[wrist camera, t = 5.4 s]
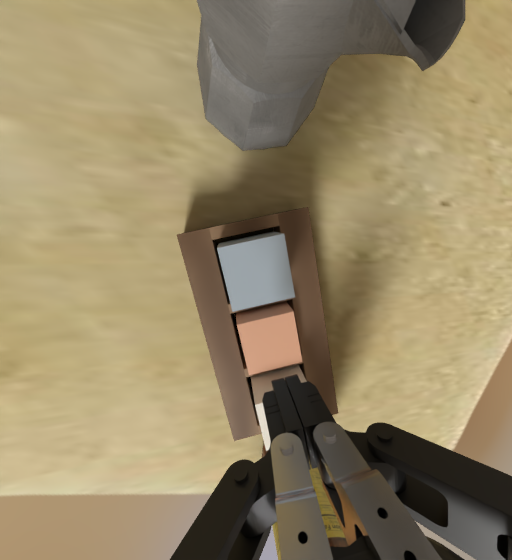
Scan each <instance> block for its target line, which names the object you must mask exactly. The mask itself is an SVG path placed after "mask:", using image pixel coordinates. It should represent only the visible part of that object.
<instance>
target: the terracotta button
mask: <svg viewBox="0 0 512 560" xmlns="http://www.w3.org/2000/svg"><path fill="white" fill-rule="evenodd" d="M236 321H237V328H238V332H239V336H240V340H241V344H242V348H243V353H244V357H245V361H246V365H247V369H248V373H249V375H252V374H256V373H260V372H264V371H268V370H272V369H276V368H280V367H284V366H288V365H292V364H296V363H300V362H302V356H301V350H300V345H299V339H298V333H297V328H296V322H295V317H294V311H293V310H292V309H291V307H290V306H289V305H288V303H287V302H286V301H283V302H278V303H274V304H270V305H265V306H261V307H257V308H253V309H248V310H244V311H240V312H236Z"/></svg>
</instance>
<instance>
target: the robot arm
mask: <svg viewBox="0 0 512 560" xmlns="http://www.w3.org/2000/svg"><path fill="white" fill-rule="evenodd" d="M284 378H285V380H284ZM284 378H280V379H276V380H272V381H271V383H272V387H273V391H269V392H265V393H264V396H263V399H262V402H263V407H264V412H265V416H266V421H267V426H268V431H269V436H270V441H271V442H270V448H269V450H268V452H267V453H266V455H265V456H264V457H263V458H261V459H260V460H259V461H257V462H255V463H253V462H252V461H250V460H239V461H237V462H235V463H233V464H232V465H231V466H230V467H229V468H228V470H227V471H226V473H225V474H224V476H223V478H222V479H221V481H220V482H219V484H218V485H217V487H216V488H215V490H214V492H213V493H212V495H211V496H210V498H209V499H208V501H207V503H206V504H205V506H204V507H203V509H202V510H201V512H200V513H199V515H198V516H197V518H196V520H195V521H194V523H193V524H192V526H191V527H190V529H189V531H188V532H187V534H186V535H185V537H184V538H183V540H182V541H181V543H180V544H179V546H178V548H177V549H176V551H175V552H174V554H173V555H172V557H171V559H170V560H259V558H260V556H261V553H262V551H263V548H264V546H265V543H266V541H267V538H268V536H269V533H270V530H271V526H272V525H273V524H274V523H275V522H277V525H278V534H279V543H280V552H281V560H464V559H463V558H461V557H460V556H458V555H457V554H455V553H454V552H453V551H451V550H450V549H448V548H446V547H445V546H444V545H442V544H440V543H439V542H437V541H435V540H433V539H431V538H429V537H426V536H425V535H424V533H423V532H422V531H421V529H420V528H419V526H418V525H417V524H416V522H418V523H420V524H421V525H423V526H424V527H426V528H427V529H429V530H431V531H432V532H434V533H435V534H437V535H438V536H440V537H442V538H443V539H445V540H446V541H448V542H450V543H451V544H453V545H454V546H456V547H457V548H459V549H460V550H462V551H464V552H465V553H467V554H468V555H470V556H472V557H473V558H475V559H476V560H512V476H510V475H508V474H505V473H503V472H501V471H498V470H496V469H494V468H491V467H489V466H486V465H484V464H482V463H479V462H477V461H474V460H472V459H470V458H468V457H465V456H463V455H461V454H458V453H456V452H453V451H451V450H449V449H446V448H444V447H442V446H439V445H437V444H435V443H432V442H430V441H427V440H425V439H423V438H420V437H418V436H416V435H413V434H411V433H409V432H406V431H404V430H401V429H399V428H397V427H394V426H392V425H390V424H387V423H374V424H372V425H370V426H369V427H368V428H367V431H366V433H361V432H350V431H347V430H344V429H343V428H342V427H341V426H340V425H338V424H337V423H336V422H335V420H334V418H333V417H332V415H331V413H330V411H329V409H328V408H327V406H326V404H325V402H324V400H323V398H322V397H321V395H320V393H319V391H318V389H317V388H316V386H315V385H313V384H312V383H311V382H309V381H307V382H303V383H301V381H300V379H299V377H298V375H297V374H295V375H291V376H287V377H284ZM309 462H310V463H309ZM310 464H311V467H312V469H314V468H318V470H319V473H320V476H321V481H322V486H323V488H324V491H325V493H326V495H327V497H328V499H329V502H330V504H331V506H332V508H333V511H334V513H335V515H336V517H337V520H338V522H339V524H340V526H341V528H342V531H343V533H344V535H345V538H346V541H347V544H348V546H347V547H334V546H330V545H329V541H328V537H327V533H326V530H325V526H324V522H323V518H322V514H321V511H320V507H319V503H318V499H317V495H316V492H315V490H314V487H313V483H312V479H311V476H310V472H309V470H311V468H310ZM414 520H415V521H416V522H415V521H414Z"/></svg>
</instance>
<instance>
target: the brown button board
mask: <svg viewBox="0 0 512 560" xmlns="http://www.w3.org/2000/svg"><path fill="white" fill-rule="evenodd" d="M270 227H273V230H274V232H279V233H284V235H285V241H286V247H287V253H288V259H289V264H290V270H291V276H292V282H293V288H294V293H295V297H294V298H290V299H286V300H281V301H277V302H273V303H268V304H264V305H260V306H256V307H251V308H247V309H243V310H238V311H234V312H232V308H231V304H230V299H229V295H228V293H227V289H226V285H225V281H224V276H223V272H222V268H221V264H220V260H219V256H218V252H217V248H216V243H215V239H219V238H224V237H228V236H233V235H238V234H242V233H247V232H252V231H256V230H261V229H266V228H270ZM177 237H178V241H179V245H180V248H181V252H182V255H183V259H184V263H185V266H186V270H187V273H188V277H189V281H190V284H191V288H192V291H193V295H194V298H195V302H196V306H197V309H198V313H199V316H200V320H201V324H202V327H203V331H204V334H205V338H206V342H207V345H208V349H209V352H210V356H211V360H212V363H213V367H214V370H215V374H216V378H217V381H218V385H219V388H220V392H221V395H222V399H223V403H224V406H225V410H226V413H227V417H228V421H229V424H230V428H231V431H232V435H233V439H234V441H235V440H239V439H243V438H247V437H250V436H254V435H258V434H262V432H261V428H260V423H259V419H258V415H257V411H256V407H255V403H254V400H253V396H252V392H251V388H250V384H249V379H248V377H250V376H254V375H258V374H262V373H266V372H270V371H274V370H278V369H282V368H286V367H290V366H294V365H299V367H300V369H301V371H302V373H303V375H304V377H305V379H306V381H309V382H311V383H312V384H313V385H315V386H316V388H317V389H318V391H319V393H320V395H321V397H322V398H323V400H324V402H325V404H326V406H327V408H328V409H329V411H330V413H331V415H333V414H337V413H338V408H337V401H336V395H335V388H334V381H333V374H332V367H331V360H330V353H329V346H328V340H327V333H326V326H325V319H324V312H323V305H322V298H321V291H320V285H319V278H318V271H317V264H316V257H315V250H314V243H313V236H312V230H311V223H310V216H309V209H308V207H306V208H300V209H295V210H291V211H286V212H281V213H276V214H272V215H267V216H262V217H257V218H253V219H248V220H243V221H238V222H234V223H229V224H224V225H219V226H215V227H210V228H205V229H200V230H196V231H191V232H186V233H182V234H177ZM283 301H287V303H288V305H289V306H290V307H291V309H292V310H293V311H294V317H295V322H296V328H297V333H298V339H299V345H300V350H301V356H302V362H300V363H296V364H292V365H288V366H284V367H280V368H276V369H272V370H268V371H264V372H260V373H256V374H252V375H249V373H248V369H247V365H246V361H245V357H244V353H243V352H242V351H241V347H240V342H239V338H238V334H237V330H236V326H235V322H234V318H233V314H232V313H235V312H240V311H244V310H248V309H253V308H257V307H261V306H265V305H270V304H274V303H278V302H283Z"/></svg>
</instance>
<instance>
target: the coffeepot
mask: <svg viewBox="0 0 512 560" xmlns="http://www.w3.org/2000/svg"><path fill="white" fill-rule="evenodd" d="M197 3H198V6H199V9H200V12H201V26H200V37H199V49H198V60H197V67H198V74H199V80H200V86H201V92H202V99H203V105H204V111H205V117H206V119H207V120H208V121H209V122H210V123H211V124H212V125H214V126H215V127H216V128H217V129H218V130H219V131H220V132H221V133H222V134H223V135H224V136H225V137H226V138H228V139H229V140H231V141H232V142H233V143H234V144H236V145H237V146H238V147H239V148H240V149H241V150H243V151H245V150H253V149H267V148H272V147H280V146H286V145H287V144H288V143H289V141H290V140H291V139H292V137H293V136H294V134H295V133H296V132H297V130H298V129H299V128H300V126H301V125H302V123H303V122H304V121H305V119H306V118H307V117H308V115H309V114H310V112H311V111H312V110H313V108H314V106H315V103H316V101H317V98H318V95H319V92H320V90H321V87H322V84H323V82H324V79H325V76H326V73H327V71H328V68H329V66H330V65H331V64H332V63H333V62H334V61H335V60H336V59H337V58H338V57H339V56H340V55H347V54H387V55H397V56H407V57H409V58H411V59H413V60H414V61H415V62H416V63H417V64H418V66H419V67H420V68H421V70H422V71H424V70H425V69H427V68H429V67H430V66H432V65H434V64H435V63H436V62H437V61H438V60H439V59H441V58H442V57H443V55H444V54H445V53H446V52H447V50H448V49H449V48H450V46H451V45H452V43H453V41H454V40H455V38H456V36H457V35H458V33H459V31H460V29H461V27H462V25H463V23H464V21H465V0H197Z"/></svg>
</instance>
